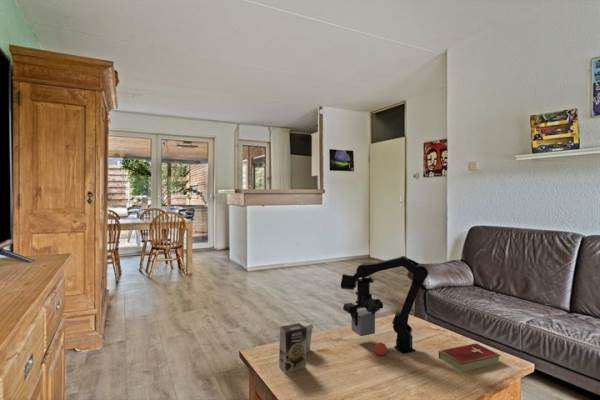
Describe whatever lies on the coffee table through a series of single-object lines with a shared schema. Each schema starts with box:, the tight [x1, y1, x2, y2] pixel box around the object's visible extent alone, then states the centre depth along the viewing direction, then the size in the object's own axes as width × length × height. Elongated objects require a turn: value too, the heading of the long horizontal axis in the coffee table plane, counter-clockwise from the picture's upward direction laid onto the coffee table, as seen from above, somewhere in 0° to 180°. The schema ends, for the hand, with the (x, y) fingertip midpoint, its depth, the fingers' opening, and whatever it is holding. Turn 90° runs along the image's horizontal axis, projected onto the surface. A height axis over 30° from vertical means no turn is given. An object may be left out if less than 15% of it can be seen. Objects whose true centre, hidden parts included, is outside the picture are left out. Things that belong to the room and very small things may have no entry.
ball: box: [374, 342, 388, 356], centre depth 143 cm, size 5×5×5 cm
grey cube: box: [351, 308, 376, 337], centre depth 155 cm, size 8×8×9 cm
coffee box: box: [278, 323, 307, 374], centre depth 132 cm, size 9×6×16 cm
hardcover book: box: [438, 343, 501, 372], centre depth 139 cm, size 12×21×4 cm, turn 111°
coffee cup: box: [294, 319, 314, 354], centre depth 147 cm, size 8×8×12 cm
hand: (363, 324), depth 155 cm, fingers closed on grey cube, 8 cm apart
